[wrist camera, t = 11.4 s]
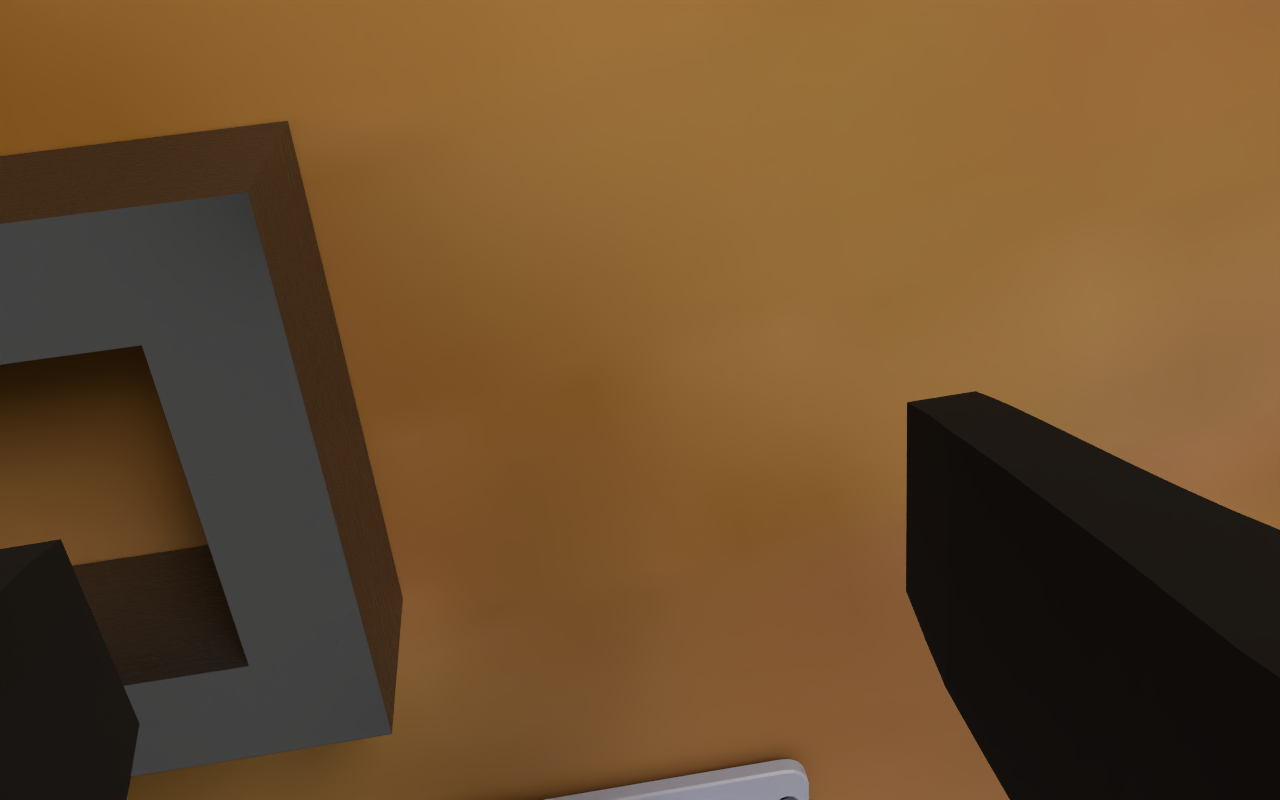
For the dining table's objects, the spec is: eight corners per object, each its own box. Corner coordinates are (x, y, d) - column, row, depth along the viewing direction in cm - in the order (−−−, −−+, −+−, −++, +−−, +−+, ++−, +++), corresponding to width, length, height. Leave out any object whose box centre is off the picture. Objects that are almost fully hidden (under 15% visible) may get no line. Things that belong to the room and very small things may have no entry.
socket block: (402, 598, 21) (391, 733, 18) (-97, 676, 21) (-196, 830, 17) (288, 121, 17) (248, 191, 14) (-348, 198, 16) (-537, 292, 13)
